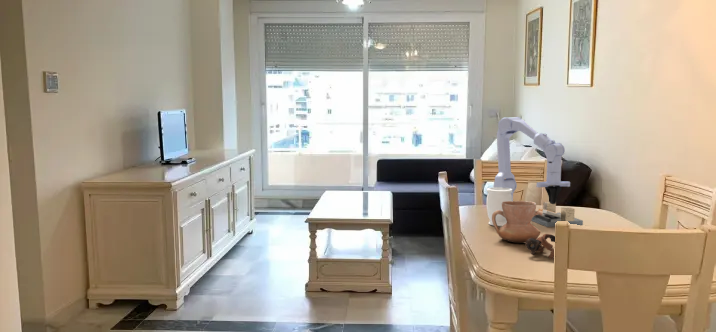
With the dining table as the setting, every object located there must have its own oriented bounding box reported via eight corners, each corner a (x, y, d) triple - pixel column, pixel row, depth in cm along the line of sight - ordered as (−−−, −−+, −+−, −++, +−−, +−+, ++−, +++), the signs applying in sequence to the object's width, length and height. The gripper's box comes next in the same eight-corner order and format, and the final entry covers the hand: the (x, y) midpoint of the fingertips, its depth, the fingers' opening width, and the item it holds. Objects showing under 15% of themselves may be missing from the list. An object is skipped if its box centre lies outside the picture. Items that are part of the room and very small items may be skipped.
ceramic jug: (541, 237, 218) (542, 200, 216) (543, 246, 204) (544, 206, 202) (492, 236, 222) (492, 199, 221) (491, 244, 208) (491, 205, 207)
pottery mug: (548, 252, 198) (560, 234, 194) (558, 271, 190) (570, 252, 186) (517, 245, 196) (528, 226, 192) (525, 264, 188) (537, 245, 184)
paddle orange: (541, 214, 247) (542, 209, 247) (537, 212, 250) (538, 208, 250) (555, 217, 248) (556, 213, 248) (551, 216, 252) (553, 211, 251)
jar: (490, 220, 249) (491, 186, 247) (514, 223, 243) (515, 188, 242) (482, 225, 240) (483, 189, 238) (507, 228, 234) (508, 191, 233)
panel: (547, 227, 236) (547, 210, 235) (526, 218, 254) (526, 202, 253) (582, 225, 239) (583, 208, 238) (559, 217, 257) (559, 201, 256)
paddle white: (545, 215, 243) (546, 210, 243) (541, 214, 247) (543, 209, 246) (559, 219, 245) (561, 214, 245) (555, 218, 248) (557, 213, 248)
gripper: (542, 173, 240) (541, 205, 241) (574, 172, 243) (573, 204, 244) (534, 171, 247) (533, 202, 248) (565, 170, 249) (564, 201, 251)
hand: (552, 203), depth 246 cm, fingers closed
